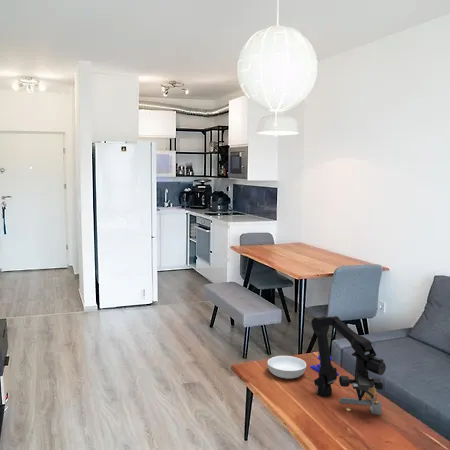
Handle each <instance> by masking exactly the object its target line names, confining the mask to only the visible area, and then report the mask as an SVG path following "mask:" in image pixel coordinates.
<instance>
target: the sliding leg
mask: <svg viewBox="0 0 450 450" xmlns="http://www.w3.org/2000/svg"><path fill="white" fill-rule="evenodd" d="M369 406H370V408H369V410H370V413H371V415H377V416H382V409H383V408H382V407H383V406H382V403H381V401H380V400H377V398H376V399H375V398H372V400H371V405H369Z"/></svg>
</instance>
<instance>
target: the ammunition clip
mask: <svg viewBox="0 0 450 450" xmlns="http://www.w3.org/2000/svg"><path fill="white" fill-rule="evenodd" d="M369 378H370V379H372V378H371V377H369ZM363 397H365V399H366V400H372V398H375V399H376V400H377V389H376V388H375V387H372V388H370V390H368V391H366V392H365V393H364V395H363Z"/></svg>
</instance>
